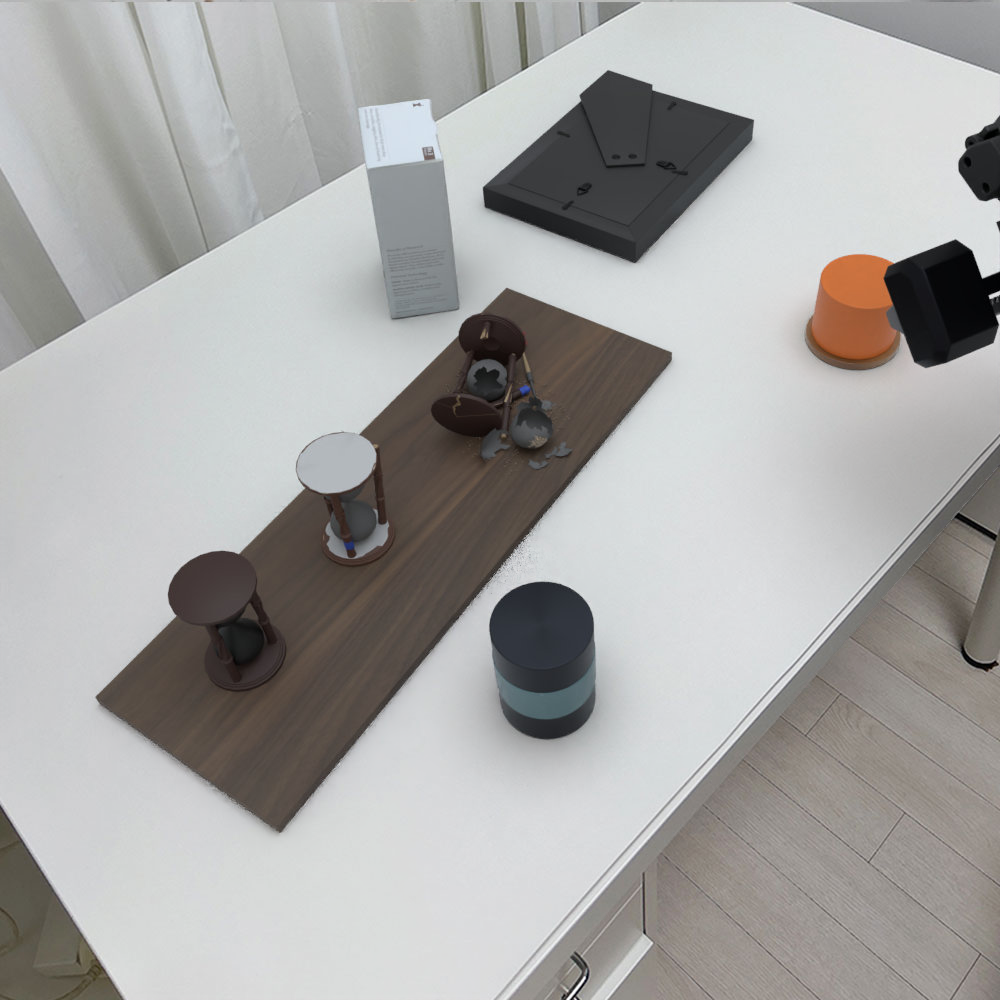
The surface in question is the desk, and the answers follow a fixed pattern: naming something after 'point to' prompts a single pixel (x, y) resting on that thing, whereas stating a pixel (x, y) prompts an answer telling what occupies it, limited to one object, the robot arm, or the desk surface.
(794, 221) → the desk surface
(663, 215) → the picture frame
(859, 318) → the cap
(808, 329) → the coaster
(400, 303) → the cosmetic box
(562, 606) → the navy teal banded cylinder
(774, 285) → the desk surface
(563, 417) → the hourglass set
